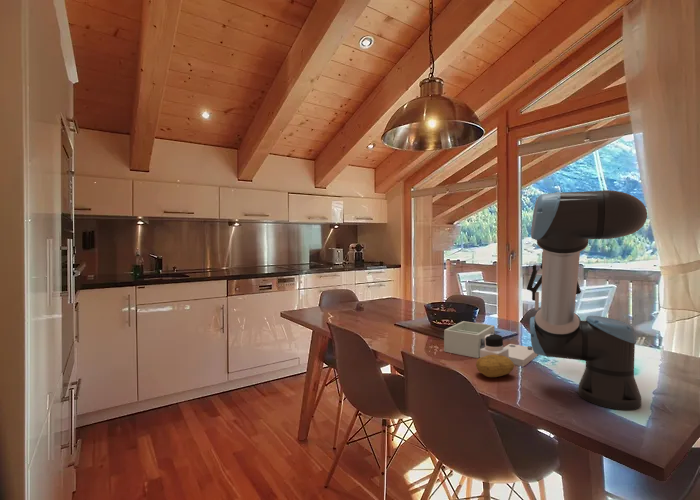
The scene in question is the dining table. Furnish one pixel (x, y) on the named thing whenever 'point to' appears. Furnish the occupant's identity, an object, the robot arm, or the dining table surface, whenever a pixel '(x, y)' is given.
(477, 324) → the open box
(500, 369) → the potato
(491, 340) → the medicine bottle
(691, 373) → the dining table surface
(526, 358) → the white flat block
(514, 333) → the dining table surface
